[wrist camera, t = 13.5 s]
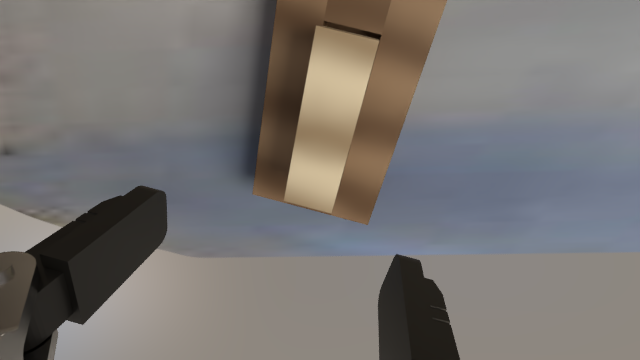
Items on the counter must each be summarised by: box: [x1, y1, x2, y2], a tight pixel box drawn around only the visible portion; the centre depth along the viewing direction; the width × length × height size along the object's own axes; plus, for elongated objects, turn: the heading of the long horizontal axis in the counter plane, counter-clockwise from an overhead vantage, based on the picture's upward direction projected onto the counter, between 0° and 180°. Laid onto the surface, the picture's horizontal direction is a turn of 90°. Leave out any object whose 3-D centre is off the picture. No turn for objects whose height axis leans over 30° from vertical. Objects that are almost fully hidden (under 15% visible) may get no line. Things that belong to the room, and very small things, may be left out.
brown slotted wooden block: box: [253, 0, 447, 225], centre depth 28 cm, size 20×12×4 cm, turn 168°
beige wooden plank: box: [284, 26, 379, 213], centre depth 25 cm, size 13×4×8 cm, turn 168°
